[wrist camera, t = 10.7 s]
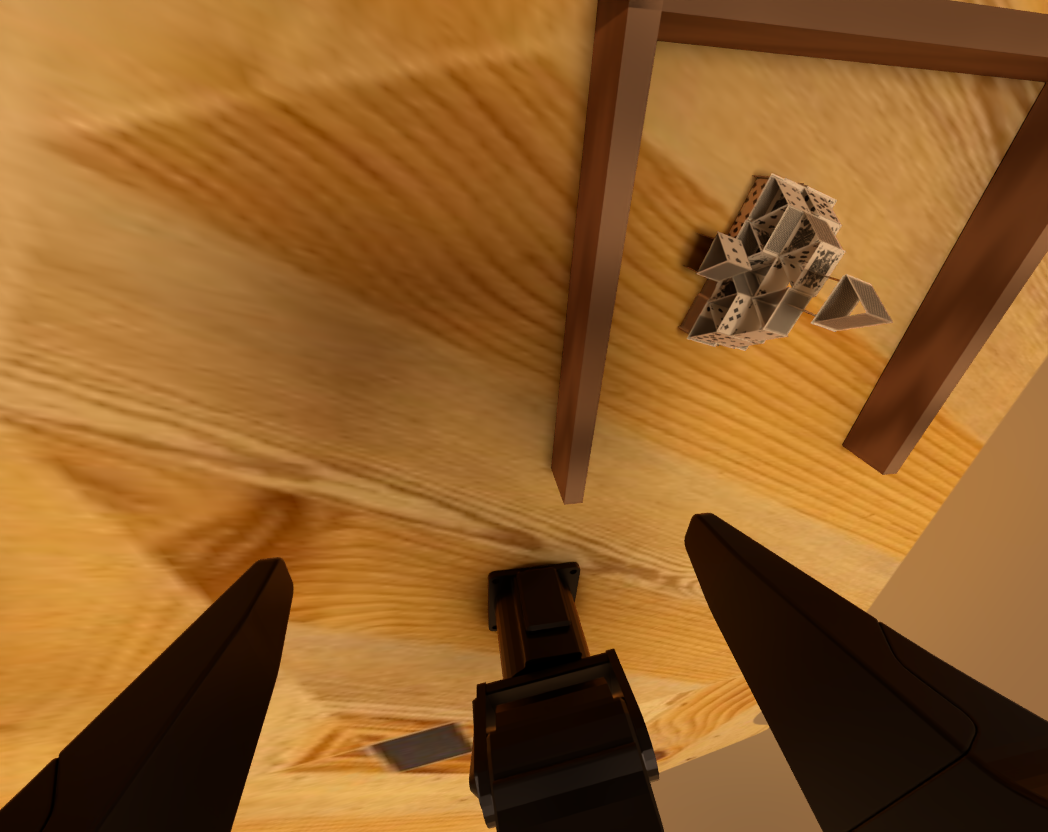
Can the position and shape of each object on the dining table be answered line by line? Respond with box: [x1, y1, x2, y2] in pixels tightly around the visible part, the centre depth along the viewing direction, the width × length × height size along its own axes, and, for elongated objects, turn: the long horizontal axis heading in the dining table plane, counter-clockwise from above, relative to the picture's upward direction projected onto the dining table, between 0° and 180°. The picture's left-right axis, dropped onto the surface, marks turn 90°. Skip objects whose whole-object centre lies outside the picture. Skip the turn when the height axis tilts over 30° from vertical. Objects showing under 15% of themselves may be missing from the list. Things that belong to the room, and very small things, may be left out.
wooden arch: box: [551, 0, 1048, 504], centre depth 19 cm, size 20×21×3 cm
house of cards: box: [678, 173, 893, 351], centre depth 15 cm, size 9×9×8 cm
